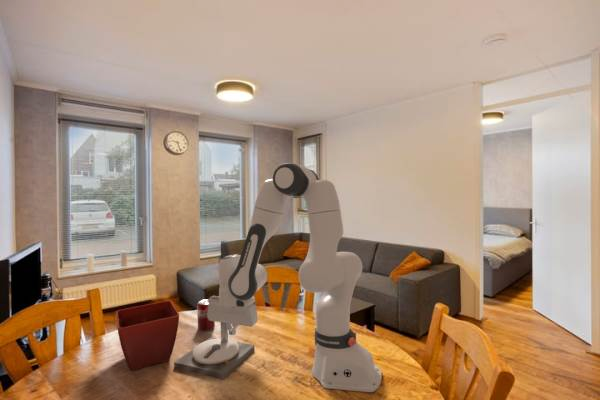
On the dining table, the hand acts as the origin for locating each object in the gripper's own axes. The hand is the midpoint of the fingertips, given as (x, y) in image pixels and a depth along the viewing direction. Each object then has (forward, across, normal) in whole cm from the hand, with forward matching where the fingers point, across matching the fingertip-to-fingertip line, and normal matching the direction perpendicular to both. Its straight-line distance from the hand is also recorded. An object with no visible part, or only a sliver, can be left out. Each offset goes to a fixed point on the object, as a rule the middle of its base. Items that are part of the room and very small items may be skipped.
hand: (232, 334), depth 116 cm
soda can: (+7, -23, +14) cm, 28 cm away
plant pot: (+7, -27, -14) cm, 31 cm away
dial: (+4, -3, -6) cm, 8 cm away
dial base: (+7, -3, -6) cm, 9 cm away
